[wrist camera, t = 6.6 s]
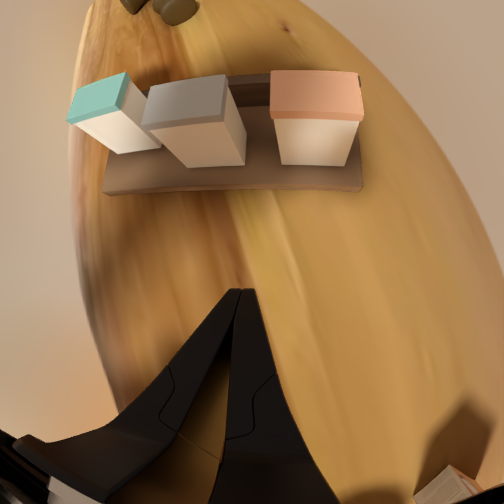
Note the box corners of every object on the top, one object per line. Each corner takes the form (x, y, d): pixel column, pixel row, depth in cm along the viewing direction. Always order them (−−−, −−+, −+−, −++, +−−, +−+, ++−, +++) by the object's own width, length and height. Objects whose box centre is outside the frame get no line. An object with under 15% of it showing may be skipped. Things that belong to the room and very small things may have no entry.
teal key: (161, 148, 24) (114, 104, 16) (116, 155, 25) (65, 120, 17) (167, 119, 24) (125, 71, 17) (123, 127, 25) (77, 88, 17)
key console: (359, 192, 23) (372, 170, 18) (109, 196, 27) (79, 182, 22) (351, 108, 23) (359, 76, 19) (124, 123, 27) (100, 102, 23)
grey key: (246, 166, 23) (220, 114, 15) (186, 169, 23) (140, 125, 16) (248, 132, 23) (225, 74, 15) (190, 136, 24) (150, 86, 16)
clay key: (345, 167, 21) (364, 114, 13) (280, 165, 22) (269, 111, 14) (342, 133, 22) (356, 72, 14) (281, 131, 22) (270, 70, 15)
